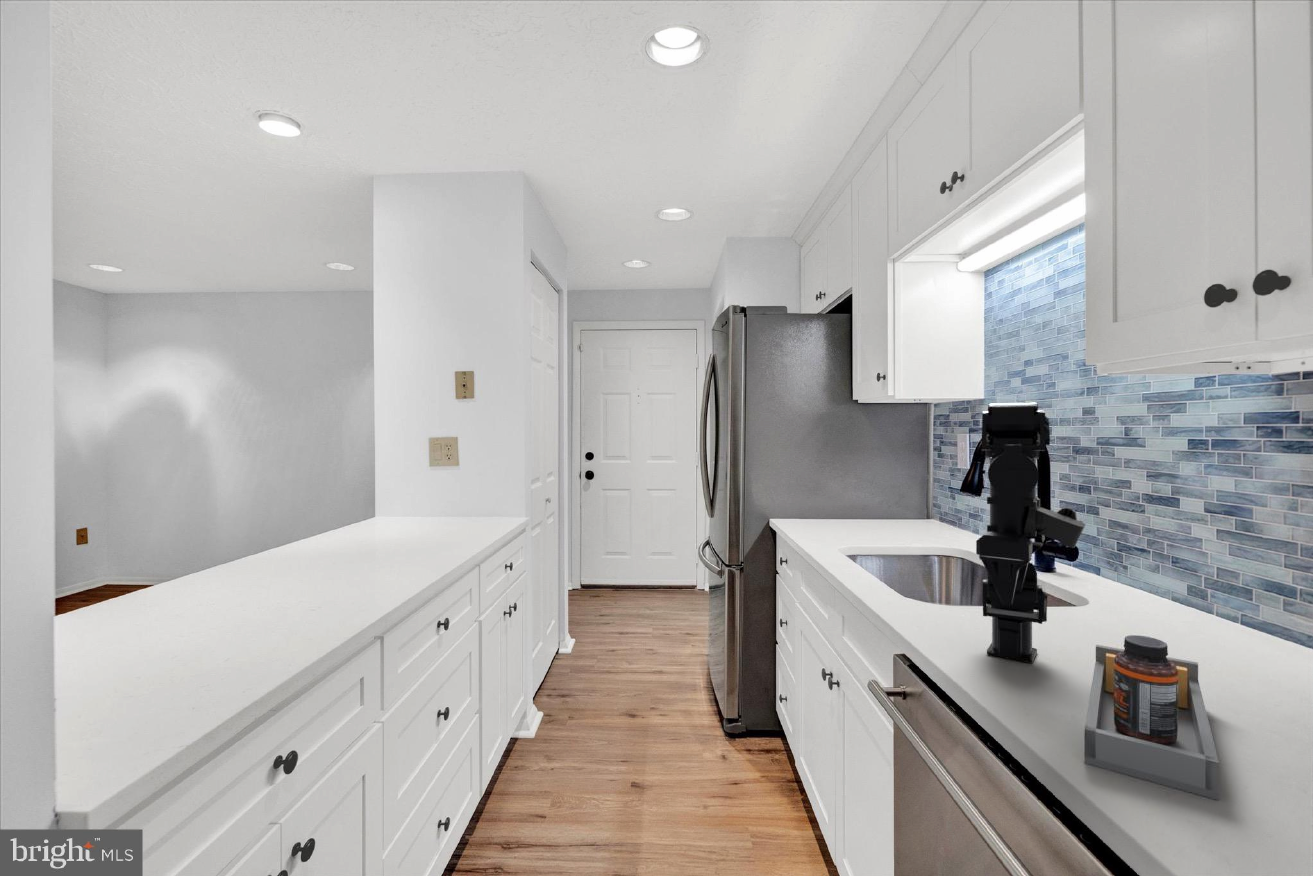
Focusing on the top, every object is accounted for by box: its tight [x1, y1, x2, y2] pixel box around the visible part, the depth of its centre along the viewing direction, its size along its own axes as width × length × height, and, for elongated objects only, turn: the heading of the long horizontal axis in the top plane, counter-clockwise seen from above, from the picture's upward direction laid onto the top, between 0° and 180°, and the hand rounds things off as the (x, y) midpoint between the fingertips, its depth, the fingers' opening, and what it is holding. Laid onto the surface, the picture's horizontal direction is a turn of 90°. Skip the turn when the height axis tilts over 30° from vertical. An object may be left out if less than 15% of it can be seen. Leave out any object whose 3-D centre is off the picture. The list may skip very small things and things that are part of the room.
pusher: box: [1106, 653, 1187, 708], centre depth 81 cm, size 4×8×5 cm, turn 51°
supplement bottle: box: [1114, 634, 1178, 745], centre depth 71 cm, size 6×6×11 cm
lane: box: [1083, 644, 1220, 801], centre depth 74 cm, size 26×11×6 cm, turn 141°
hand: (1012, 596), depth 87 cm, fingers open, 9 cm apart
